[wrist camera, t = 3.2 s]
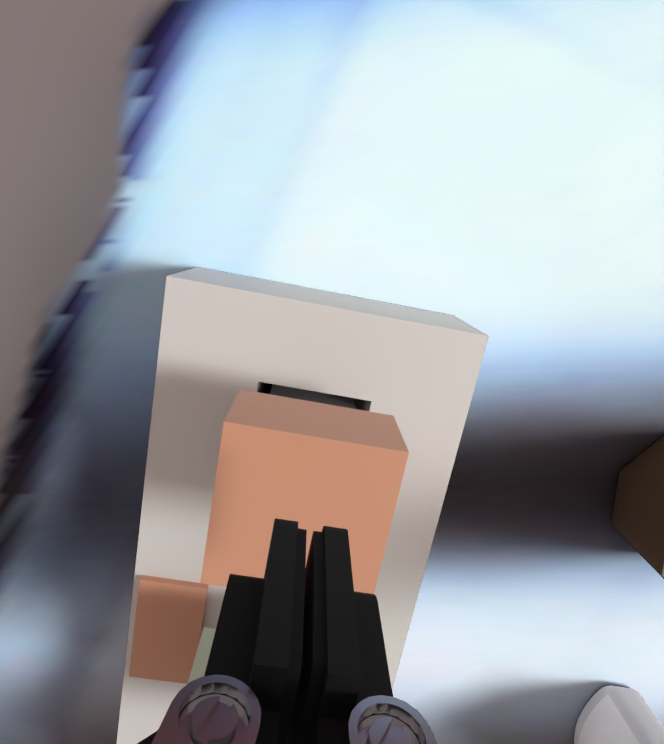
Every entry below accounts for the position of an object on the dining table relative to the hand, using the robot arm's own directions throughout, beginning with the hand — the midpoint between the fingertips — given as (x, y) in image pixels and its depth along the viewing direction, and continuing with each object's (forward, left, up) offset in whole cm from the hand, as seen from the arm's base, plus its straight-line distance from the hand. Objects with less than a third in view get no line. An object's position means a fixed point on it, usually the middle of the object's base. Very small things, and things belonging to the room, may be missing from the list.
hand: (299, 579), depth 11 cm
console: (-10, 0, -14) cm, 17 cm away
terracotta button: (0, 0, -11) cm, 11 cm away
